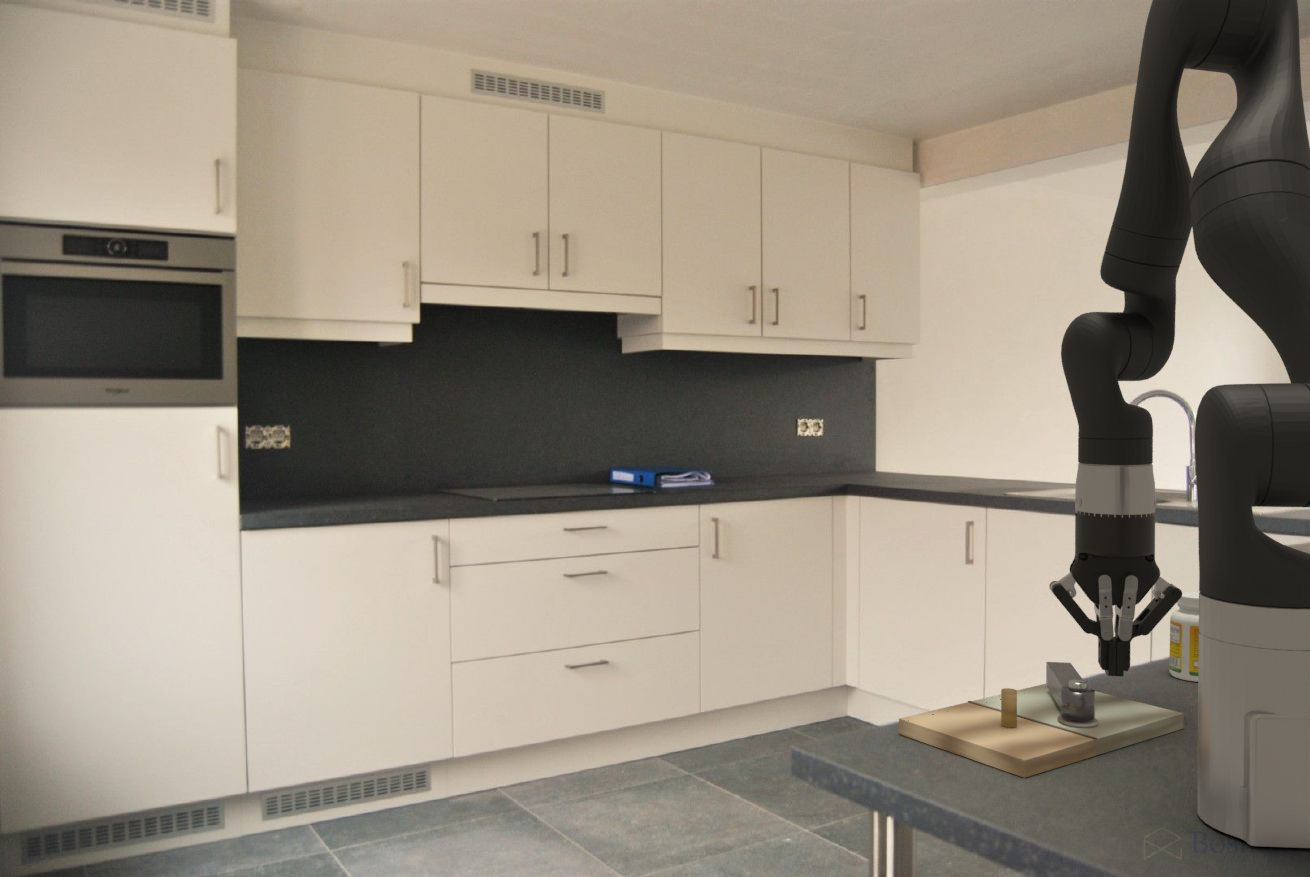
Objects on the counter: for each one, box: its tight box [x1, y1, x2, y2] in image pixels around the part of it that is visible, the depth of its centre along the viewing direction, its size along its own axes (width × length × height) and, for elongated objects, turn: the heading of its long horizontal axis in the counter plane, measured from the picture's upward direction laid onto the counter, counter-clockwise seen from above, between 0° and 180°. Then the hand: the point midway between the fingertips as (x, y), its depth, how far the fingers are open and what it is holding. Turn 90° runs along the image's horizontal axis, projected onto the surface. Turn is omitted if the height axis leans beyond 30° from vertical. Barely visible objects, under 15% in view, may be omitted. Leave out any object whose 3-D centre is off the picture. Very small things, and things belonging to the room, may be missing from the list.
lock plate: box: [898, 683, 1184, 779], centre depth 102 cm, size 14×24×5 cm, turn 123°
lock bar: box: [1045, 661, 1096, 721], centre depth 104 cm, size 12×3×3 cm, turn 168°
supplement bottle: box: [1168, 591, 1200, 683], centre depth 121 cm, size 5×5×10 cm
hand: (1113, 674), depth 108 cm, fingers closed
